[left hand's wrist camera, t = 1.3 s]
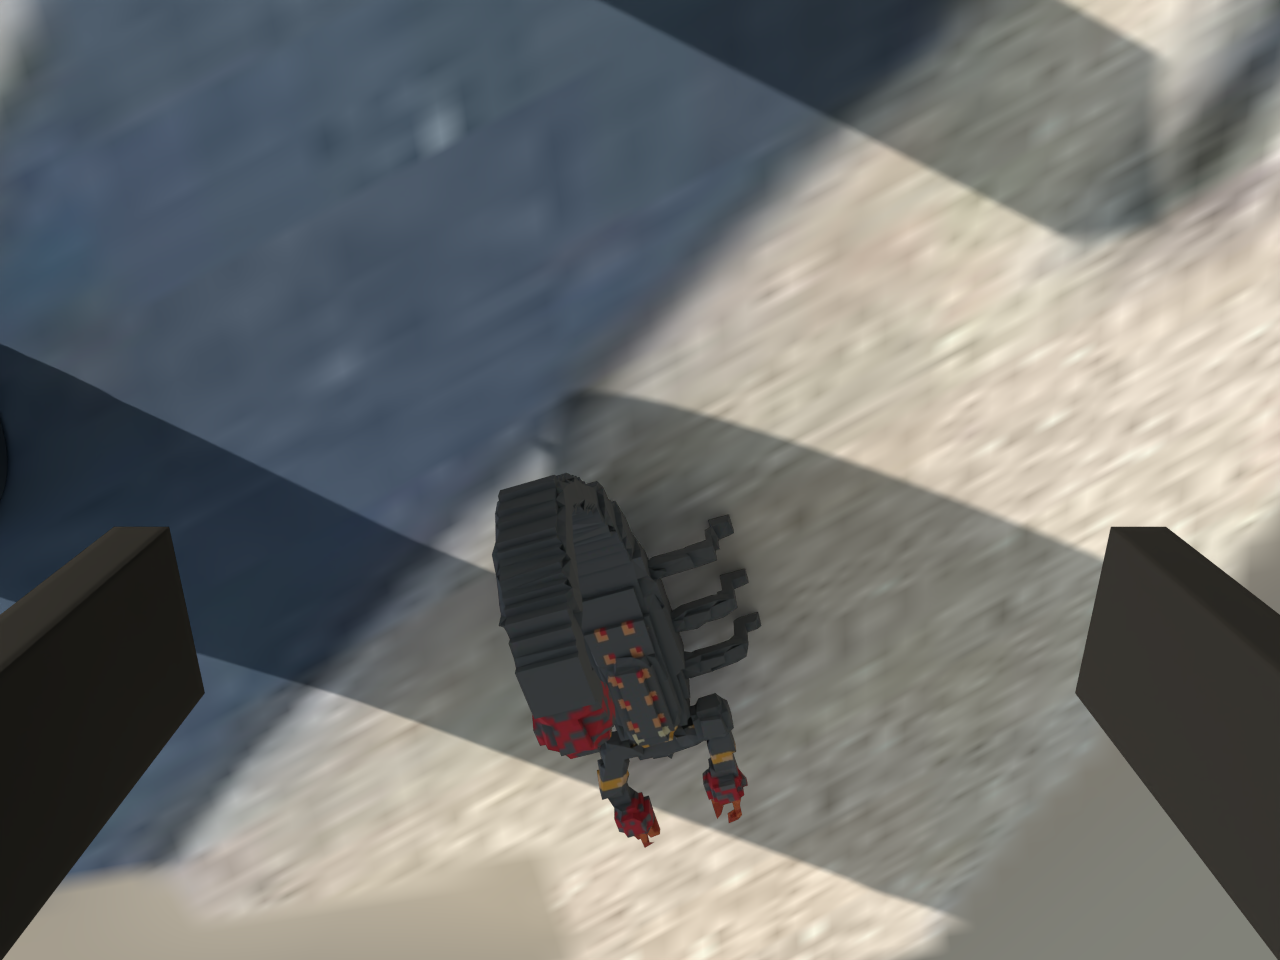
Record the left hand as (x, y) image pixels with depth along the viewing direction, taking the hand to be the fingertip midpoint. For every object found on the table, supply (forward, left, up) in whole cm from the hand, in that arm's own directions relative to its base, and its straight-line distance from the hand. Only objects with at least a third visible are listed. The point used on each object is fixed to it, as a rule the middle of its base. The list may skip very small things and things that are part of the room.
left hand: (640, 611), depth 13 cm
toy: (-9, -18, -34) cm, 40 cm away
